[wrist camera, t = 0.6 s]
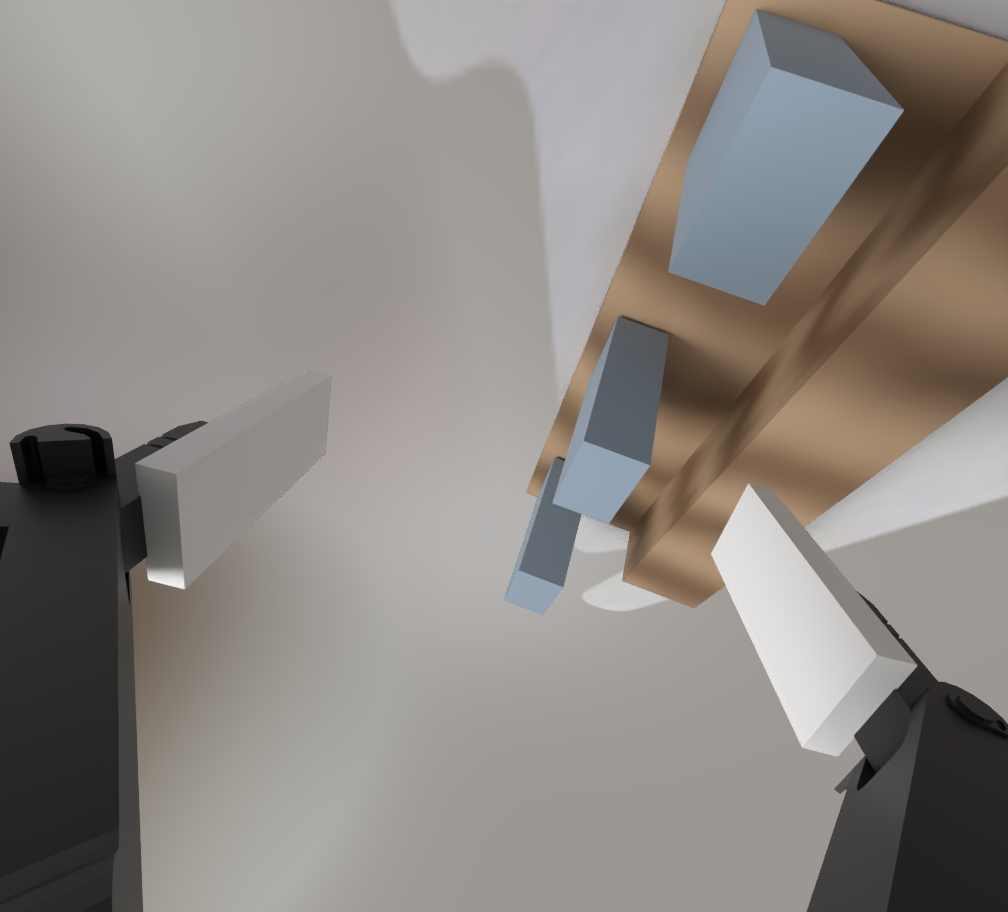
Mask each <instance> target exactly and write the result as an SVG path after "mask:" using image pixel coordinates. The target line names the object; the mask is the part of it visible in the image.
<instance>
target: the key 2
mask: <svg viewBox="0 0 1008 912" xmlns="http://www.w3.org/2000/svg"><path fill="white" fill-rule="evenodd" d="M903 111H904V109H903V108H902V107H901V106H900V105H899V103H898V102H897V101H896V100H895V99H894V98H893V97H892V95H891V94H890V93H889V92H888V91H887V90H886V89H885V87H884V86H883V85H882V84H881V83H880V82H879V81H878V79H877V78H876V77H875V76H874V75H873V74H872V73H871V72H870V70H869V69H868V68H867V67H866V66H865V65H864V64H863V62H862V61H861V60H860V59H859V58H858V57H857V56H856V54H855V53H854V52H853V51H852V50H851V49H850V48H849V46H848V45H847V44H846V43H845V42H844V41H843V40H842V38H841V37H840V36H839V35H837V34H834V33H831V32H827V31H824V30H821V29H818V28H815V27H812V26H809V25H806V24H803V23H799V22H796V21H793V20H790V19H787V18H784V17H781V16H778V15H774V14H771V13H768V12H765V11H762V10H759V9H755V11H754V14H753V16H752V18H751V20H750V22H749V25H748V27H747V29H746V31H745V34H744V36H743V38H742V40H741V43H740V45H739V47H738V49H737V51H736V54H735V56H734V58H733V60H732V63H731V65H730V67H729V69H728V72H727V74H726V76H725V78H724V81H723V83H722V85H721V87H720V89H719V92H718V94H717V96H716V98H715V101H714V103H713V105H712V107H711V110H710V112H709V114H708V116H707V119H706V121H705V123H704V125H703V127H702V130H701V132H700V134H699V136H698V139H697V141H696V143H695V145H694V148H693V150H692V152H691V154H690V157H689V159H688V161H687V165H686V171H685V177H684V183H683V188H682V194H681V200H680V206H679V212H678V218H677V223H676V229H675V235H674V241H673V247H672V253H671V259H670V264H669V270H668V272H669V273H672V274H675V275H678V276H681V277H684V278H687V279H689V280H692V281H695V282H698V283H701V284H704V285H707V286H709V287H712V288H715V289H718V290H721V291H724V292H727V293H730V294H732V295H735V296H738V297H741V298H744V299H747V300H750V301H752V302H755V303H758V304H761V305H764V306H765V304H766V303H767V302H768V300H769V299H770V297H771V296H772V295H773V293H774V292H775V290H776V289H777V288H778V286H779V285H780V283H781V282H782V281H783V279H784V278H785V276H786V275H787V274H788V272H789V271H790V269H791V268H792V267H793V265H794V264H795V262H796V261H797V260H798V258H799V257H800V255H801V254H802V253H803V251H804V250H805V248H806V247H807V246H808V244H809V243H810V241H811V240H812V239H813V237H814V236H815V234H816V233H817V232H818V230H819V229H820V227H821V226H822V225H823V223H824V222H825V220H826V219H827V218H828V216H829V215H830V213H831V212H832V211H833V209H834V208H835V206H836V205H837V204H838V202H839V201H840V199H841V198H842V197H843V195H844V194H845V192H846V191H847V190H848V188H849V187H850V185H851V184H852V183H853V181H854V180H855V178H856V177H857V176H858V174H859V173H860V171H861V170H862V169H863V167H864V166H865V164H866V163H867V162H868V160H869V159H870V157H871V156H872V155H873V153H874V152H875V150H876V149H877V148H878V146H879V145H880V143H881V142H882V141H883V139H884V138H885V136H886V135H887V134H888V132H889V131H890V129H891V128H892V127H893V125H894V124H895V122H896V121H897V120H898V118H899V117H900V115H901V114H902V113H903Z"/></svg>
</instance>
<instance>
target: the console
mask: <svg viewBox="0 0 1008 912" xmlns="http://www.w3.org/2000/svg"><path fill="white" fill-rule="evenodd" d="M755 9H759V10H762V11H765V12H768V13H771V14H774V15H778V16H781V17H784V18H787V19H790V20H793V21H796V22H799V23H803V24H806V25H809V26H812V27H815V28H818V29H821V30H824V31H827V32H831V33H834V34H837V35H839V36H840V37H841V38H842V40H843V41H844V42H845V43H846V44H847V45H848V46H849V48H850V49H851V50H852V51H853V52H854V53H855V54H856V56H857V57H858V58H859V59H860V60H861V61H862V62H863V64H864V65H865V66H866V67H867V68H868V69H869V70H870V72H871V73H872V74H873V75H874V76H875V77H876V78H877V79H878V81H879V82H880V83H881V84H882V85H883V86H884V87H885V89H886V90H887V91H888V92H889V93H890V94H891V95H892V97H893V98H894V99H895V100H896V101H897V102H898V103H899V105H900V106H901V107H902V108H903V109H904V111H903V113H902V114H901V115H900V117H899V118H898V120H897V121H896V122H895V124H894V125H893V127H892V128H891V129H890V131H889V132H888V134H887V135H886V136H885V138H884V139H883V141H882V142H881V143H880V145H879V146H878V148H877V149H876V150H875V152H874V153H873V155H872V156H871V157H870V159H869V160H868V162H867V163H866V164H865V166H864V167H863V169H862V170H861V171H860V173H859V174H858V176H857V177H856V178H855V180H854V181H853V183H852V184H851V185H850V187H849V188H848V190H847V191H846V192H845V194H844V195H843V197H842V198H841V199H840V201H839V202H838V204H837V205H836V206H835V208H834V209H833V211H832V212H831V213H830V215H829V216H828V218H827V219H826V220H825V222H824V223H823V225H822V226H821V227H820V229H819V230H818V232H817V233H816V234H815V236H814V237H813V239H812V240H811V241H810V243H809V244H808V246H807V247H806V248H805V250H804V251H803V253H802V254H801V255H800V257H799V258H798V260H797V261H796V262H795V264H794V265H793V267H792V268H791V269H790V271H789V272H788V274H787V275H786V276H785V278H784V279H783V281H782V282H781V283H780V285H779V286H778V288H777V289H776V290H775V292H774V293H773V295H772V296H771V297H770V299H769V300H768V302H767V303H766V304H765V306H764V305H761V304H758V303H755V302H752V301H750V300H747V299H744V298H741V297H738V296H735V295H732V294H730V293H727V292H724V291H721V290H718V289H715V288H712V287H709V286H707V285H704V284H701V283H698V282H695V281H692V280H689V279H687V278H684V277H681V276H678V275H675V274H672V273H669V272H668V270H669V264H670V259H671V253H672V247H673V241H674V235H675V229H676V223H677V218H678V212H679V206H680V200H681V194H682V188H683V183H684V177H685V171H686V165H687V161H688V159H689V157H690V154H691V152H692V150H693V148H694V145H695V143H696V141H697V139H698V136H699V134H700V132H701V130H702V127H703V125H704V123H705V121H706V119H707V116H708V114H709V112H710V110H711V107H712V105H713V103H714V101H715V98H716V96H717V94H718V92H719V89H720V87H721V85H722V83H723V81H724V78H725V76H726V74H727V72H728V69H729V67H730V65H731V63H732V60H733V58H734V56H735V54H736V51H737V49H738V47H739V45H740V43H741V40H742V38H743V36H744V34H745V31H746V29H747V27H748V25H749V22H750V20H751V18H752V16H753V14H754V11H755ZM617 317H621V318H624V319H627V320H630V321H632V322H635V323H638V324H641V325H644V326H646V327H649V328H652V329H655V330H658V331H661V332H663V333H666V334H669V339H668V346H667V353H666V360H665V367H664V374H663V381H662V388H661V395H660V401H659V408H658V415H657V422H656V429H655V436H654V443H653V450H652V457H651V464H650V467H649V468H648V469H647V471H646V472H645V474H644V475H643V476H642V478H641V479H640V481H639V482H638V483H637V485H636V486H635V488H634V489H633V490H632V492H631V493H630V495H629V496H628V497H627V499H626V500H625V502H624V503H623V504H622V506H621V507H620V509H619V510H618V511H617V513H616V514H615V516H614V517H613V518H612V520H611V521H610V523H609V524H611V525H613V526H616V527H619V528H621V529H624V530H627V531H629V532H630V535H629V541H628V548H627V554H626V560H625V566H624V572H623V579H622V581H624V582H626V583H629V584H632V585H634V586H637V587H639V588H642V589H645V590H647V591H650V592H653V593H655V594H658V595H660V596H663V597H666V598H668V599H671V600H674V601H676V602H679V603H682V604H684V605H687V606H689V607H692V608H695V607H697V606H698V605H699V604H700V603H702V602H703V601H705V600H706V599H708V598H709V597H710V596H712V595H713V594H714V593H715V592H717V591H718V590H720V589H721V588H722V587H724V586H725V583H724V581H723V579H722V576H721V574H720V572H719V570H718V568H717V566H716V564H715V562H714V559H713V557H712V555H711V553H712V551H713V549H714V547H715V545H716V543H717V541H718V540H719V538H720V536H721V534H722V532H723V530H724V528H725V526H726V525H727V523H728V521H729V519H730V517H731V515H732V513H733V511H734V509H735V508H736V506H737V504H738V502H739V500H740V498H741V496H742V494H743V493H744V491H745V489H746V487H747V485H748V483H749V484H753V485H757V486H761V487H764V488H768V489H772V490H773V491H774V492H775V493H776V494H777V496H778V497H779V498H780V499H781V501H782V502H783V503H784V504H785V505H786V507H787V508H788V509H789V510H790V511H791V513H792V514H793V515H794V516H795V517H796V519H797V520H798V521H799V522H800V524H801V525H802V526H803V527H805V526H807V525H808V524H809V523H811V522H812V521H813V520H815V519H816V518H817V517H819V516H820V515H821V514H823V513H824V512H826V511H827V510H828V509H830V508H831V507H832V506H834V505H835V504H836V503H838V502H839V501H840V500H842V499H843V498H845V497H846V496H847V495H849V494H850V493H851V492H853V491H854V490H855V489H857V488H858V487H859V486H861V485H862V484H863V483H865V482H866V481H868V480H869V479H870V478H872V477H873V476H874V475H876V474H877V473H878V472H880V471H881V470H882V469H884V468H885V467H887V466H888V465H889V464H891V463H892V462H893V461H895V460H896V459H897V458H899V457H900V456H901V455H903V454H904V453H906V452H907V451H908V450H910V449H911V448H912V447H914V446H915V445H916V444H918V443H919V442H920V441H922V440H923V439H924V438H926V437H927V436H929V435H930V434H931V433H933V432H934V431H935V430H937V429H938V428H939V427H941V426H942V425H943V424H945V423H946V422H948V421H949V420H950V419H952V418H953V417H954V416H956V415H957V414H958V413H960V412H961V411H962V410H964V409H965V408H967V407H968V406H969V405H971V404H972V403H973V402H975V401H976V400H977V399H979V398H980V397H981V396H983V395H984V394H986V393H987V392H988V391H990V390H991V389H992V388H994V387H995V386H996V385H998V384H999V383H1000V382H1002V381H1003V380H1004V379H1006V378H1007V377H1008V41H1007V40H1004V39H1001V38H998V37H995V36H992V35H988V34H985V33H982V32H979V31H976V30H973V29H969V28H966V27H963V26H960V25H957V24H954V23H950V22H947V21H944V20H941V19H938V18H935V17H931V16H928V15H925V14H922V13H919V12H916V11H913V10H909V9H906V8H903V7H900V6H897V5H894V4H890V3H887V2H884V1H881V0H726V2H725V5H724V7H723V10H722V12H721V15H720V17H719V20H718V22H717V24H716V27H715V29H714V32H713V34H712V37H711V39H710V42H709V44H708V47H707V49H706V51H705V54H704V56H703V59H702V61H701V64H700V66H699V69H698V71H697V73H696V76H695V78H694V81H693V83H692V86H691V88H690V91H689V93H688V96H687V98H686V100H685V103H684V105H683V108H682V110H681V113H680V115H679V118H678V120H677V123H676V125H675V127H674V130H673V132H672V135H671V137H670V140H669V142H668V145H667V147H666V149H665V152H664V154H663V157H662V159H661V162H660V164H659V167H658V169H657V172H656V174H655V176H654V179H653V181H652V184H651V186H650V189H649V191H648V194H647V196H646V199H645V201H644V203H643V206H642V208H641V211H640V213H639V216H638V218H637V221H636V223H635V225H634V228H633V230H632V233H631V235H630V238H629V240H628V243H627V245H626V248H625V250H624V252H623V255H622V257H621V260H620V262H619V265H618V267H617V270H616V272H615V274H614V277H613V279H612V282H611V284H610V287H609V289H608V292H607V294H606V297H605V299H604V301H603V304H602V306H601V309H600V311H599V314H598V316H597V319H596V321H595V324H594V326H593V328H592V331H591V333H590V336H589V338H588V341H587V343H586V346H585V348H584V350H583V353H582V355H581V358H580V360H579V363H578V365H577V368H576V370H575V373H574V375H573V377H572V380H571V382H570V385H569V387H568V390H567V392H566V395H565V397H564V399H563V402H562V404H561V407H560V409H559V412H558V414H557V417H556V419H555V422H554V424H553V427H552V429H551V431H550V434H549V437H548V439H547V441H546V444H545V446H544V449H543V451H542V453H541V456H540V459H539V461H538V463H537V466H536V468H535V471H534V473H533V476H532V478H531V480H530V483H529V486H528V489H527V491H526V493H529V494H531V495H534V496H536V497H538V494H539V492H540V489H541V487H542V485H543V483H544V481H545V478H546V476H547V474H548V472H549V469H550V467H551V465H552V463H553V460H554V458H558V459H561V460H563V461H565V459H566V456H567V453H568V449H569V446H570V443H571V439H572V436H573V433H574V429H575V426H576V423H577V419H578V416H579V413H580V409H581V406H582V403H583V399H584V396H585V393H586V389H587V386H588V383H589V380H590V378H591V376H592V373H593V371H594V369H595V367H596V364H597V362H598V360H599V358H600V355H601V353H602V351H603V349H604V346H605V344H606V342H607V340H608V338H609V335H610V333H611V331H612V329H613V326H614V324H615V322H616V320H617Z"/></svg>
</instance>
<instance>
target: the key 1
mask: <svg viewBox="0 0 1008 912" xmlns="http://www.w3.org/2000/svg"><path fill="white" fill-rule="evenodd" d="M564 463H565V461H563V460H561V459H558V458H554V460H553V463H552V465H551V467H550V469H549V472H548V474H547V476H546V478H545V481H544V483H543V485H542V487H541V489H540V492H539V494H538V497H537V500H536V503H535V507H534V510H533V513H532V516H531V519H530V522H529V525H528V528H527V531H526V534H525V537H524V540H523V543H522V546H521V549H520V552H519V555H518V558H517V561H516V564H515V567H514V571H513V573H512V577H511V580H510V583H509V586H508V589H507V592H506V595H505V598H504V600H505V601H508V602H510V603H513V604H516V605H518V606H521V607H523V608H526V609H529V610H531V611H534V612H537V613H539V614H541V615H544V614H545V612H546V611H547V609H548V608H549V606H550V605H551V604H552V602H553V601H554V599H555V598H556V597H557V595H558V594H559V593H560V591H561V590H562V588H563V586H564V582H565V578H566V574H567V570H568V566H569V562H570V558H571V554H572V550H573V546H574V542H575V538H576V534H577V529H578V525H579V521H580V517H581V514H580V513H577V512H574V511H572V510H569V509H566V508H564V507H561V506H558V505H556V504H553V499H554V496H555V493H556V489H557V486H558V483H559V479H560V476H561V473H562V469H563V466H564Z"/></svg>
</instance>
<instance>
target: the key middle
mask: <svg viewBox="0 0 1008 912" xmlns="http://www.w3.org/2000/svg"><path fill="white" fill-rule="evenodd" d="M668 339H669V334H666V333H663V332H661V331H658V330H655V329H652V328H649V327H646V326H644V325H641V324H638V323H635V322H632V321H630V320H627V319H624V318H621V317H617V320H616V322H615V324H614V326H613V329H612V331H611V333H610V335H609V338H608V340H607V342H606V344H605V346H604V349H603V351H602V353H601V355H600V358H599V360H598V362H597V364H596V367H595V369H594V371H593V373H592V376H591V378H590V380H589V383H588V386H587V389H586V393H585V396H584V399H583V403H582V406H581V409H580V413H579V416H578V419H577V423H576V426H575V429H574V433H573V436H572V439H571V443H570V446H569V449H568V453H567V456H566V459H565V463H564V466H563V469H562V473H561V476H560V479H559V483H558V486H557V489H556V493H555V496H554V499H553V504H556V505H558V506H561V507H564V508H566V509H569V510H572V511H574V512H577V513H580V514H582V515H585V516H588V517H590V518H593V519H596V520H598V521H601V522H604V523H606V524H609V523H610V521H611V520H612V518H613V517H614V516H615V514H616V513H617V511H618V510H619V509H620V507H621V506H622V504H623V503H624V502H625V500H626V499H627V497H628V496H629V495H630V493H631V492H632V490H633V489H634V488H635V486H636V485H637V483H638V482H639V481H640V479H641V478H642V476H643V475H644V474H645V472H646V471H647V469H648V468H649V467H650V464H651V457H652V450H653V443H654V436H655V429H656V422H657V415H658V408H659V401H660V395H661V388H662V381H663V374H664V367H665V360H666V353H667V346H668Z"/></svg>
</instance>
